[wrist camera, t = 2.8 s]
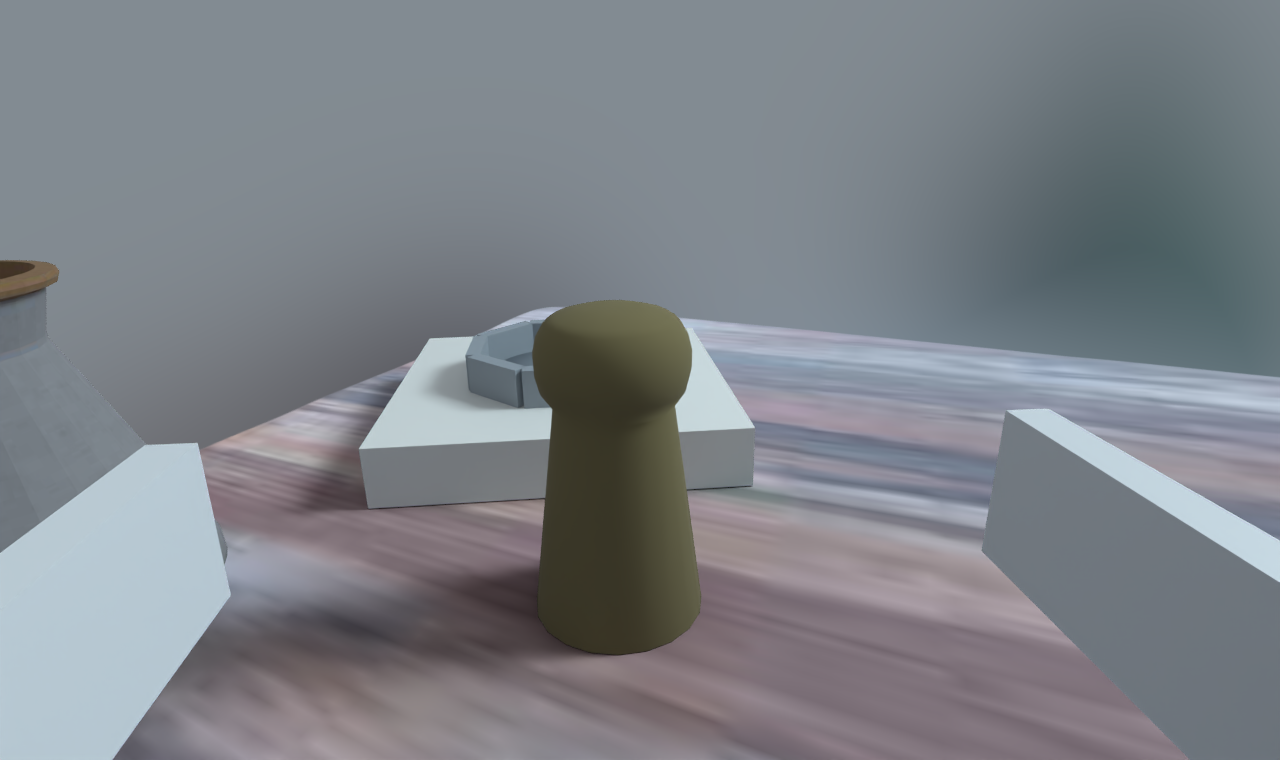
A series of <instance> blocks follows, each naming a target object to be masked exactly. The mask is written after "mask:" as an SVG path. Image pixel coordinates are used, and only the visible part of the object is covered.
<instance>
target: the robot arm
mask: <svg viewBox="0 0 1280 760" xmlns="http://www.w3.org/2000/svg"><path fill="white" fill-rule="evenodd" d="M982 552H983V553H984V554H985V555H986V556H987V557H988V558H989V559H990V560H991V561H992V562H993V563H994V564H995V565H996V566H997V567H998V568H999V569H1000V570H1001V571H1002V572H1003V573H1004V574H1005V575H1006V576H1007V577H1008V578H1009V579H1010V580H1011V581H1012V582H1013V583H1014V584H1015V585H1016V586H1017V587H1018V588H1019V589H1020V590H1021V591H1022V592H1023V593H1024V594H1025V595H1026V596H1027V597H1028V598H1029V599H1030V600H1031V601H1032V602H1033V603H1034V604H1035V605H1036V606H1037V607H1038V608H1039V609H1040V610H1041V611H1042V612H1043V613H1044V614H1045V615H1046V616H1047V617H1048V618H1049V619H1050V620H1051V621H1052V622H1053V623H1054V624H1055V625H1056V626H1057V627H1058V628H1059V629H1060V630H1061V631H1062V632H1063V633H1064V634H1065V635H1066V636H1067V637H1068V638H1069V639H1070V640H1071V641H1072V642H1073V643H1074V644H1075V645H1076V646H1077V647H1078V648H1079V649H1080V650H1081V651H1082V652H1083V653H1084V654H1085V655H1086V656H1087V657H1088V658H1089V659H1090V660H1091V661H1092V662H1093V663H1094V664H1095V665H1096V666H1097V667H1098V668H1099V669H1100V670H1101V671H1102V672H1103V673H1104V674H1105V675H1106V676H1107V677H1108V678H1109V679H1110V680H1111V681H1112V682H1113V683H1114V684H1115V685H1116V686H1117V687H1118V688H1119V689H1120V690H1121V691H1122V692H1123V693H1124V694H1125V695H1126V696H1127V697H1128V698H1129V699H1130V700H1131V701H1132V702H1133V703H1134V704H1135V705H1136V706H1137V707H1138V708H1139V709H1140V710H1141V711H1142V712H1143V713H1144V714H1145V715H1146V716H1147V717H1148V718H1149V719H1150V720H1151V721H1152V722H1153V723H1154V724H1155V725H1156V726H1157V727H1158V728H1159V729H1160V730H1161V731H1162V732H1163V733H1164V734H1165V735H1166V736H1167V737H1168V738H1169V739H1170V740H1171V741H1172V742H1173V743H1174V744H1175V745H1176V746H1177V747H1178V748H1179V749H1180V750H1181V751H1182V752H1183V753H1184V754H1185V755H1186V756H1187V757H1188V758H1189V759H1190V760H1280V541H1279V540H1278V539H1276V538H1274V537H1272V536H1271V535H1269V534H1267V533H1265V532H1264V531H1262V530H1260V529H1258V528H1257V527H1255V526H1253V525H1251V524H1250V523H1248V522H1246V521H1244V520H1243V519H1241V518H1239V517H1237V516H1236V515H1234V514H1232V513H1230V512H1229V511H1227V510H1225V509H1223V508H1222V507H1220V506H1218V505H1216V504H1215V503H1213V502H1211V501H1209V500H1208V499H1206V498H1204V497H1202V496H1201V495H1199V494H1197V493H1195V492H1194V491H1192V490H1190V489H1188V488H1187V487H1185V486H1183V485H1181V484H1180V483H1178V482H1176V481H1174V480H1172V479H1171V478H1169V477H1167V476H1165V475H1164V474H1162V473H1160V472H1158V471H1157V470H1155V469H1153V468H1151V467H1150V466H1148V465H1146V464H1144V463H1143V462H1141V461H1139V460H1137V459H1136V458H1134V457H1132V456H1130V455H1129V454H1127V453H1125V452H1123V451H1122V450H1120V449H1118V448H1116V447H1115V446H1113V445H1111V444H1109V443H1108V442H1106V441H1104V440H1102V439H1101V438H1099V437H1097V436H1095V435H1094V434H1092V433H1090V432H1088V431H1087V430H1085V429H1083V428H1081V427H1080V426H1078V425H1076V424H1074V423H1073V422H1071V421H1069V420H1067V419H1066V418H1064V417H1062V416H1060V415H1059V414H1057V413H1055V412H1053V411H1051V410H1050V409H1027V410H1006V413H1005V419H1004V425H1003V430H1002V436H1001V442H1000V448H999V453H998V459H997V465H996V471H995V476H994V482H993V488H992V494H991V499H990V505H989V511H988V517H987V522H986V528H985V534H984V540H983V545H982ZM230 596H231V593H230V589H229V584H228V580H227V575H226V570H225V566H224V561H223V557H222V552H221V548H220V543H219V539H218V534H217V529H216V525H215V520H214V516H213V511H212V507H211V502H210V498H209V493H208V489H207V484H206V479H205V475H204V470H203V466H202V461H201V457H200V452H199V448H198V443H187V444H162V445H144V446H143V447H142V448H140V449H139V450H138V451H136V452H135V453H134V454H132V455H131V456H130V457H128V458H127V459H126V460H124V461H123V462H122V463H120V464H119V465H118V466H116V467H115V468H114V469H112V470H111V471H110V472H108V473H107V474H105V475H104V476H103V477H101V478H100V479H99V480H97V481H96V482H95V483H93V484H92V485H91V486H89V487H88V488H87V489H85V490H84V491H83V492H81V493H80V494H79V495H77V496H76V497H75V498H73V499H72V500H71V501H69V502H68V503H67V504H65V505H64V506H62V507H61V508H60V509H58V510H57V511H56V512H54V513H53V514H52V515H50V516H49V517H48V518H46V519H45V520H44V521H42V522H41V523H40V524H38V525H37V526H36V527H34V528H33V529H32V530H30V531H29V532H28V533H26V534H25V535H24V536H22V537H21V538H20V539H18V540H17V541H15V542H14V543H13V544H11V545H10V546H9V547H7V548H6V549H5V550H3V551H2V552H1V553H0V760H112V759H113V758H114V757H115V755H116V754H117V752H118V751H119V750H120V748H121V747H122V745H123V744H124V743H125V741H126V740H127V739H128V737H129V736H130V734H131V733H132V732H133V730H134V729H135V727H136V726H137V725H138V723H139V722H140V720H141V719H142V718H143V716H144V715H145V714H146V712H147V711H148V709H149V708H150V707H151V705H152V704H153V702H154V701H155V700H156V698H157V697H158V696H159V694H160V693H161V691H162V690H163V689H164V687H165V686H166V684H167V683H168V682H169V680H170V679H171V678H172V676H173V675H174V673H175V672H176V671H177V669H178V668H179V666H180V665H181V664H182V662H183V661H184V660H185V658H186V657H187V655H188V654H189V653H190V651H191V650H192V648H193V647H194V646H195V644H196V643H197V641H198V640H199V639H200V637H201V636H202V635H203V633H204V632H205V630H206V629H207V628H208V626H209V625H210V623H211V622H212V621H213V619H214V618H215V617H216V615H217V614H218V612H219V611H220V610H221V608H222V607H223V605H224V604H225V603H226V601H227V600H228V599H229V597H230Z"/></svg>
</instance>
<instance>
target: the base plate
mask: <svg viewBox="0 0 1280 760" xmlns="http://www.w3.org/2000/svg"><path fill="white" fill-rule="evenodd" d="M543 321H544V320H531V321H530V322H527V321H524V322H520V323H517V324H513V325H509V326H506V327H502V328H498V329H495V330H491V331H488V332H484V333H480V334H477V336H474V337H458V338H457V337H456V338H432V339H429V341H428V342H427V344H426V346H425V347H424V349H423V350H422V352H421V353H420V355H419V357H418V358H417V359H416V361H415V363H414V364H413V366H412V367H411V369H410V370H409V372H408V373H407V375H406V376H405V378H404V380H403V381H402V383H401V384H400V386H399V387H398V389H397V390H396V392H395V394H394V395H393V397H392V398H391V400H390V401H389V403H388V404H387V406H386V407H385V409H384V411H383V412H382V414H381V415H380V417H379V418H378V420H377V421H376V423H375V425H374V426H373V428H372V429H371V431H370V432H369V434H368V435H367V437H366V438H365V440H364V442H363V443H362V445H361V446H360V448H359V455H360V461H361V467H362V474H363V480H364V486H365V493H366V499H367V505H368V509H371V508H388V507H404V506H421V505H437V504H454V503H470V502H487V501H504V500H520V499H537V498H545V495H546V482H547V470H548V457H549V444H550V432H551V419H552V409H551V407H550V406H549V405H548V404H547V403H546V401H545V400H544V399H543V398H542V397H541V396H540V393H539V390H538V387H537V384H536V381H535V378H534V371H533V360H532V350H533V344H534V339H535V335H536V334H537V332H538V330H539V328H540V326H541V324H542V323H543ZM685 329H686V330H687V332H688V334H689V338H690V342H691V346H692V368H691V373H690V377H689V380H688V384H687V388H686V391H685V393H684V395H683V396H682V397H681V399H680V400H679V401H678V403H677V404H676V405H675V409H676V416H677V423H678V431H679V438H680V445H681V453H682V460H683V467H684V474H685V482H686V489H703V488H719V487H736V486H752V485H753V468H754V444H755V427H754V425H753V424H752V422H751V421H750V419H749V417H748V416H747V414H746V413H745V411H744V410H743V408H742V406H741V405H740V403H739V402H738V400H737V399H736V397H735V395H734V394H733V392H732V391H731V389H730V388H729V386H728V384H727V383H726V381H725V380H724V378H723V376H722V375H721V373H720V372H719V370H718V369H717V367H716V365H715V364H714V362H713V361H712V359H711V358H710V356H709V354H708V353H707V351H706V350H705V348H704V346H703V345H702V343H701V342H700V340H699V339H698V337H697V335H696V334H695V332H694V331H693V329H692V328H685Z"/></svg>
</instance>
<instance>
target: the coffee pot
mask: <svg viewBox="0 0 1280 760" xmlns="http://www.w3.org/2000/svg"><path fill="white" fill-rule="evenodd" d="M58 275H59V270H58V269H57V267H56V266H55V265H53V264H50V263H47V262H38V261H18V260H5V261H4V260H2V261H0V553H1V552H2V551H3V550H5V549H6V548H7V547H9V546H10V545H11V544H13V543H14V542H15V541H17V540H18V539H20V538H21V537H22V536H24V535H25V534H26V533H28V532H29V531H30V530H32V529H33V528H34V527H36V526H37V525H38V524H40V523H41V522H42V521H44V520H45V519H46V518H48V517H49V516H50V515H52V514H53V513H54V512H56V511H57V510H58V509H60V508H61V507H62V506H64V505H65V504H67V503H68V502H69V501H71V500H72V499H73V498H75V497H76V496H77V495H79V494H80V493H81V492H83V491H84V490H85V489H87V488H88V487H89V486H91V485H92V484H93V483H95V482H96V481H97V480H99V479H100V478H101V477H103V476H104V475H105V474H107V473H108V472H110V471H111V470H112V469H114V468H115V467H116V466H118V465H119V464H120V463H122V462H123V461H124V460H126V459H127V458H128V457H130V456H131V455H132V454H134V453H135V452H136V451H138V450H139V449H140V448H142V447H143V446H144V445H146V444H145V442H143V440H142V439H141V438H140V437H139V436H138V435H137V434H136V433H135V431H134V430H133V429H132V428H131V427H130V426H129V425H128V424H127V423H126V422H125V421H124V419H123V418H122V417H121V416H120V415H119V414H118V413H117V412H116V411H115V410H114V408H113V407H112V406H110V404H109V403H108V402H107V401H106V400H105V399H104V398H103V397H102V396H101V394H100V393H99V392H98V391H97V390H96V389H95V388H94V387H93V386H92V385H91V383H90V382H89V381H88V380H87V379H86V378H85V377H84V376H83V375H82V373H81V372H80V371H79V370H78V369H77V368H76V367H75V366H74V365H73V364H72V363H71V361H70V360H69V359H68V358H67V357H66V356H65V355H64V354H63V353H62V352H61V350H60V349H59V348H58V347H57V346H56V345H55V344H54V343H53V342H52V341H51V340H50V338H49V337H48V334H47V331H46V287H47V286H49V285H51V284H53V283H55V282H57V280H58ZM214 520H215V519H214ZM215 525H216V529H217V534H218V539H219V543H220V548H221V552H222V557H223V561H224V564H225V561H226V557H227V545H226V542H225V539H224V536H223V533H222V529H221V527H220V526H219V524H218V522H217V521H216V520H215Z"/></svg>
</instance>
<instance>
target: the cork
mask: <svg viewBox="0 0 1280 760" xmlns="http://www.w3.org/2000/svg"><path fill="white" fill-rule="evenodd" d="M532 360H533V371H534V378H535V381H536V384H537V387H538V390H539V393H540V396H541V397H542V398H543V399H544V400H545V401H546V403H547V404H548V405H549V406H550V407H551V409H552V419H551V432H550V444H549V457H548V470H547V482H546V495H545V507H544V520H543V532H542V545H541V557H540V570H539V582H538V595H537V607H538V617H539V618H540V620H541V622H542V623H543V625H544V626H545V628H546V630H547V631H548V632H549V633H550V634H552V635H553V636H555V637H556V638H557V639H559V640H560V641H562V642H563V643H565V644H566V645H569V646H572V647H575V648H578V649H581V650H584V651H587V652H590V653H602V654H613V655H622V654H629V653H637V652H644V651H648V650H651V649H654V648H656V647H659V646H662V645H664V644H667V643H670V642H672V641H673V640H675V639H676V638H677V637H679V636H680V635H681V634H683V633H684V632H685V631H687V630H688V629H689V628H690V627H691V625H692V624H693V622H694V621H695V619H696V617H697V616H698V614H699V613H700V604H701V591H700V584H699V577H698V569H697V562H696V555H695V547H694V540H693V533H692V526H691V518H690V511H689V504H688V496H687V489H686V482H685V474H684V467H683V460H682V453H681V445H680V438H679V431H678V423H677V416H676V409H675V405H676V404H677V403H678V401H679V400H680V399H681V397H682V396H683V395H684V393H685V391H686V388H687V384H688V380H689V377H690V373H691V368H692V346H691V342H690V338H689V334H688V332H687V330H686V329H685V327H684V326H683V324H682V322H681V321H680V319H679V318H678V317H677V316H676V315H675V314H674V313H671V312H670V311H668V310H666V309H665V308H662V307H660V306H657V305H653V304H648V303H642V302H635V301H625V300H606V301H605V300H604V301H594V302H587V303H582V304H577V305H573V306H569V307H565V308H563V309H561V310H558V311H556V312H555V313H553V314H552V315H550V316H549V317H548V318H546V319H545V320H544V321H543V323H542V324H541V326H540V328H539V330H538V332H537V334H536V335H535V339H534V344H533V350H532Z"/></svg>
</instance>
